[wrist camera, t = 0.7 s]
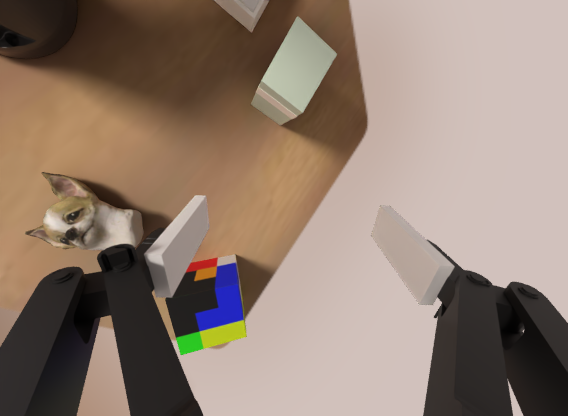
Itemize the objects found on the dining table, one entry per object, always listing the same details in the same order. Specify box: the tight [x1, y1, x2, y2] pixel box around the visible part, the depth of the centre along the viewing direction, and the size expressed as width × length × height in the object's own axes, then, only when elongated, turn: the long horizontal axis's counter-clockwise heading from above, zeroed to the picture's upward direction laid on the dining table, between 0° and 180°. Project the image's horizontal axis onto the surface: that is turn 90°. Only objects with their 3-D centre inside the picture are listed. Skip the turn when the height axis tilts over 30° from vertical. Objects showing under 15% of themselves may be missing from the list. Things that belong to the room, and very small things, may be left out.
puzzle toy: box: [165, 255, 247, 355], centre depth 37 cm, size 10×10×10 cm
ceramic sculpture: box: [25, 172, 144, 250], centre depth 30 cm, size 11×9×15 cm
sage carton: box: [251, 16, 337, 125], centre depth 30 cm, size 6×8×12 cm
